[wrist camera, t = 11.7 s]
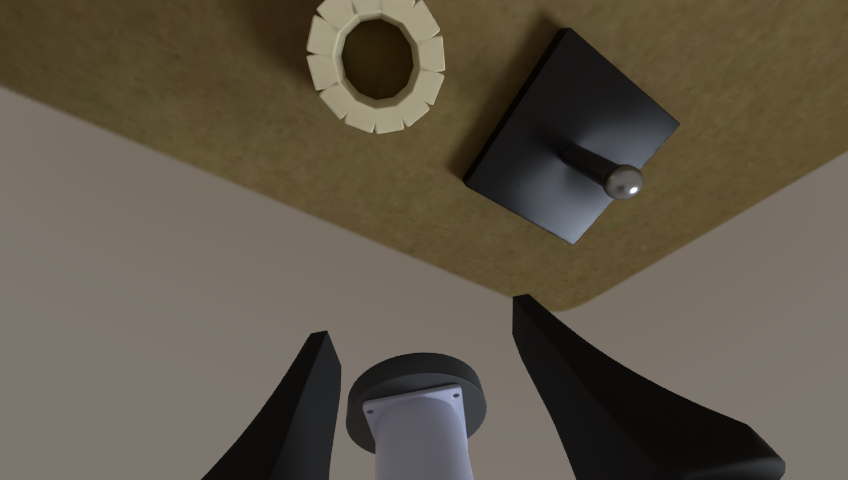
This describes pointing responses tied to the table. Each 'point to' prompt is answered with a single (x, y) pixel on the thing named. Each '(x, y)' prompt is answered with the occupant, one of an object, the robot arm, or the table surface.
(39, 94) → the table surface
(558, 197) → the stand
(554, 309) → the table surface
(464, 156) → the table surface
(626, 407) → the robot arm
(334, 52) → the beige ring
